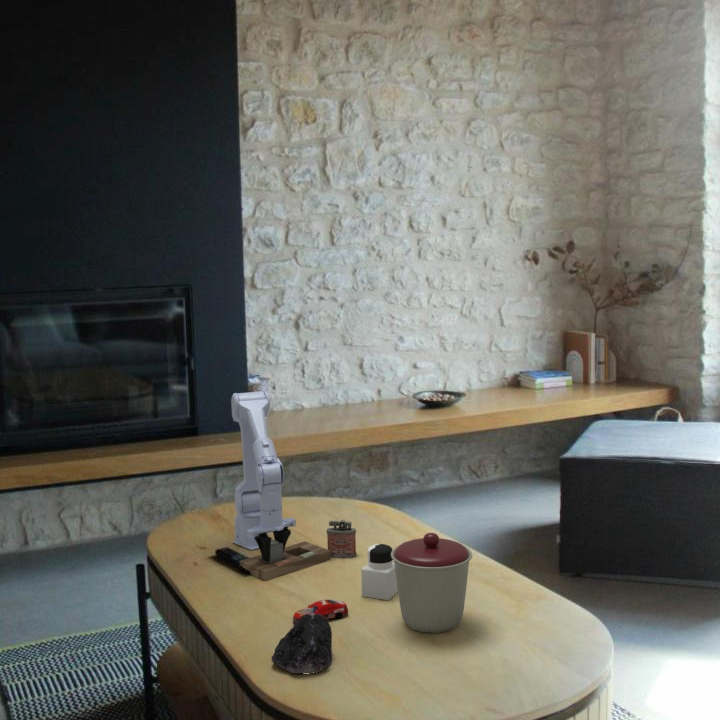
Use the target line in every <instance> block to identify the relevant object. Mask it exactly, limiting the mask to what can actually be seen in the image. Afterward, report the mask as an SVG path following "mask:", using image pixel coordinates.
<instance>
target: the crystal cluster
mask: <svg viewBox="0 0 720 720" xmlns="http://www.w3.org/2000/svg"><path fill="white" fill-rule="evenodd" d="M293 624H294V625H293V626H292V627H291V628H290V629H289V631H288V632H287V633H286V634H285V636H283V637H282V638H281V639H280V640H279V642H278V644H277V645H276V647H274V648H275V649H274V653H273V655H272V656H271V662H272V664H273V665H275V664H276V665H275V666H277V667H279V668H281V669H283V670H285V671H287V672H289V673H292V674H300V673H313V672H314V673H315V674H318V672H319V673H320V672H322V671H323V670H325V669H326V668H327V667H329V666H330V665H331V664H332V661H333V643H332V642H333V641H332V640H333V636H332V635H333V632H332V627H331V624H330V622H329V621H326V620H325V618H324V617H323V616H322V615H321V614H315V615H314V616H311V615H310V614H306V615H303V616H301V617H300V618H299V619H298V620H297V621H296V622H295V623H293ZM326 666H327V667H326ZM325 667H326V668H325ZM324 668H325V669H324Z"/></svg>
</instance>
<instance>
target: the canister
mask: <svg viewBox="0 0 720 720" xmlns="http://www.w3.org/2000/svg"><path fill="white" fill-rule="evenodd" d="M391 558H392V559H393V562H394V564H395V572H396V580H397V588H398V592H397V593H398V594H397V595H398V602H399V607H400V614H401V618H402V619H403V621H404V623H405V624H406V625H407V627H409V628H410V629H412V630H415V631H418V632H421V631H422V632H423V633H428V632H430V633H431V632H432V634H434V633H433V632H436V633H441V632H442V633H443V631H444V632H448V631H451V630H453V629H455V628H456V627H457V626H458V625H459V624H460V623H461V621H462V618H463V615H464V610H465V602H466V595H467V586H468V585H467V584H468V576H469V575H468V574H469V565H470V561H471V560H472V558H473V552H472V550H471V549H470V548H468V547H467V546H464V544H462V543H461V542H458V541H455V540H453V539H446V538H440V537H439V535H438V534H437V533H436V532H427V533H426V534H424V535H423V538H415V539H410V540H407V541H405V542H403V543H400V544H399V545H398V546H396V547H394V548H392V552H391ZM452 628H453V629H452Z"/></svg>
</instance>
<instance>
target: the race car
mask: <svg viewBox="0 0 720 720" xmlns="http://www.w3.org/2000/svg"><path fill="white" fill-rule="evenodd" d="M306 614H310V615H311V616H314V615H315V614H321V615H322V616H323V617H324V618H325V620H326V621H327V622H330V621H335V620H336V621H337V620H342V618H345V617H346V616H348V615H349V609H348V606H347V603H346V602H344V601H343V600H338V599H322V600H318V601H315V602H312V603H311V604H308V606H307V607H304V608H302V609H299V610H297V611H296V612H294V613H293V616H292V622H293V624H295V622H296V621H297V620H298V619H299V618H300V617H301V616H303V615H306Z"/></svg>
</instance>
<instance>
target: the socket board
mask: <svg viewBox="0 0 720 720" xmlns="http://www.w3.org/2000/svg"><path fill="white" fill-rule="evenodd" d="M331 559H332V558H331V551H330V550H328V548H324V547H322V546H319V545H317V544H314V543H310V542H307V541H301V542H298V543H295V544H292V545H291V544H290V545H289V546H285V549H284V554H283V561H280V562H276V563H274V564H272V565H270V564H267V563H265V562H262V555H261V554H259V555H258V554H257V555H254V556H252V557H248V558H245V559H241V560H239V567H240V566H242V567H243V568H245V569H246V570H248V571H250V573H251V575H250V576H252V575H253V577H255V578H257V579H259V580H262V581H264V582H266V581H269V580H271V579H275V578H278V577H281V576H285V575H287V574H292V573H294V572H296V571H297V572H298V571H299V570H303V569H306V568H309V567H313V566H315V565H318V564H321V563H325V562H327V561H330V560H331Z"/></svg>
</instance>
